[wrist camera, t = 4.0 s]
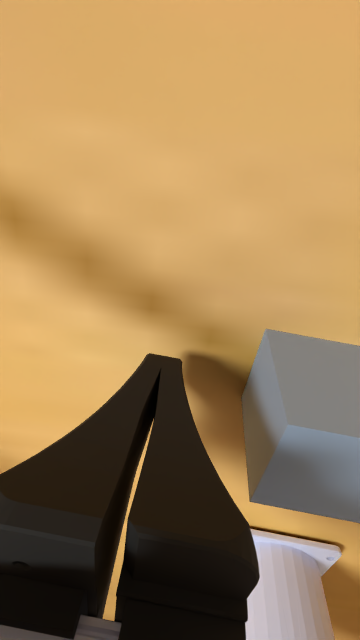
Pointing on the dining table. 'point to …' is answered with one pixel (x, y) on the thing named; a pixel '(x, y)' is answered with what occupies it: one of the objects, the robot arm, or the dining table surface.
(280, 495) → the light blue block
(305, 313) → the dining table surface
